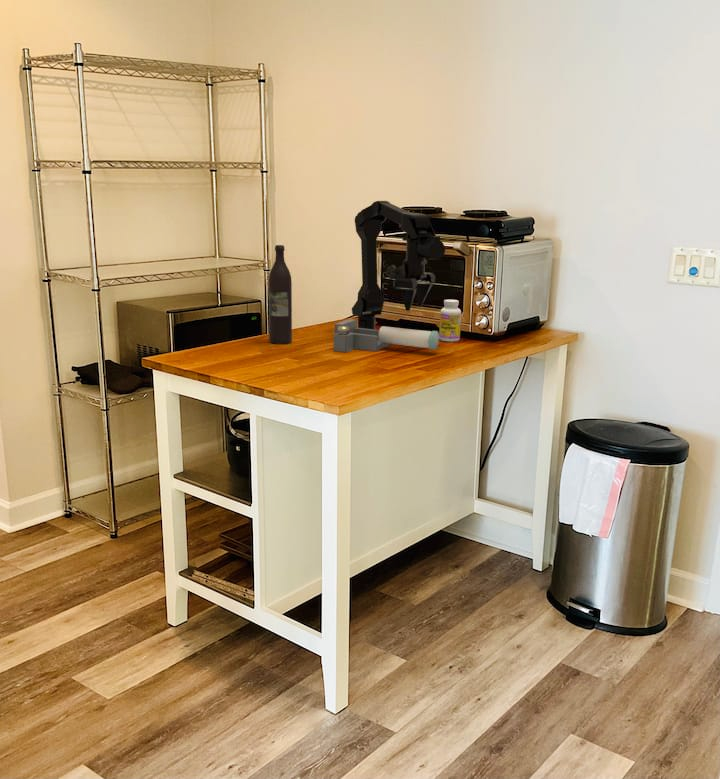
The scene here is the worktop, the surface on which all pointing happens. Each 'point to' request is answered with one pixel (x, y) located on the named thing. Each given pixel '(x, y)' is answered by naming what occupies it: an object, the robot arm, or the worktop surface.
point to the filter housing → (357, 338)
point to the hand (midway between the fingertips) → (413, 308)
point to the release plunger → (343, 330)
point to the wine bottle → (280, 300)
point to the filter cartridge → (409, 337)
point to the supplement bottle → (450, 321)
